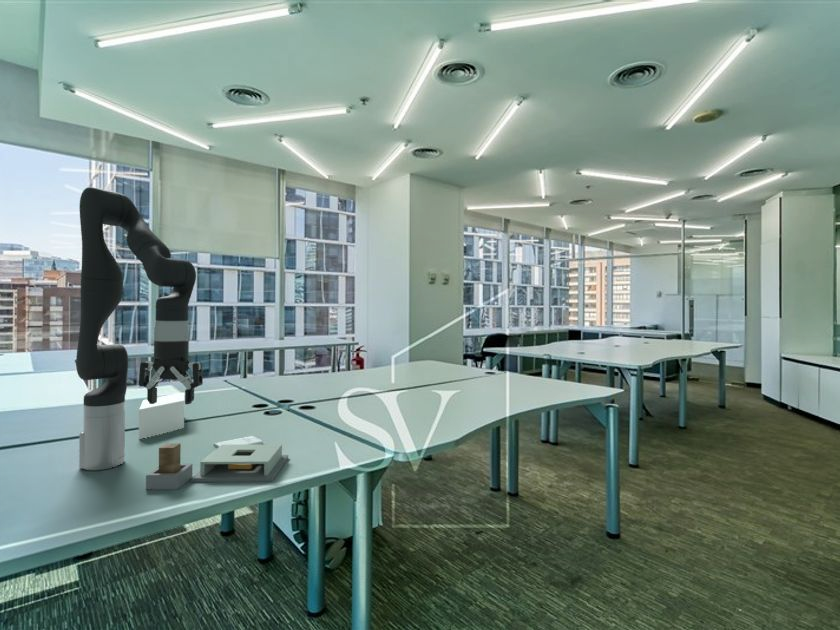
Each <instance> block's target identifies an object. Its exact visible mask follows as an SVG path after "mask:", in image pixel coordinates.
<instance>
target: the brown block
mask: <svg viewBox="0 0 840 630" xmlns="http://www.w3.org/2000/svg"><path fill="white" fill-rule="evenodd" d="M181 444H182V443H179V442H178V443H171V442H169V443H165V444H163V445H161V446H160V447H158V467H159V473H177V472H178V471H180V464H181V451H182V450H181Z"/></svg>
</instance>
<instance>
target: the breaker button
mask: <svg viewBox="0 0 840 630" xmlns="http://www.w3.org/2000/svg"><path fill="white" fill-rule="evenodd" d="M254 465H255V464H228V469H252V468H253V466H254Z"/></svg>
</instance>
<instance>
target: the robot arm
mask: <svg viewBox="0 0 840 630" xmlns="http://www.w3.org/2000/svg"><path fill="white" fill-rule="evenodd" d="M79 220H80V221H79V223H80V235H81V269H80V272H81V273H80V319H79V320H80V321H79V330H78V331H79V332H78V339H77V340H78V341H77V348H76V359H75V361H76V364H75V366H76V373H77V375H78V377H79V379H81V380H83V381H91V380H92V381H94V380H101V379H106V380H105V382H104V383H102V384H101V385H100V386H99V387H96V388H95V389H93V390H90V391H88V392H87V393H85V394H84V395H83V431H82V432H80V433H79V436H78V437H79V444H78V445H79V450H78V452H79V453H78V454H79V455H78V457H79V459H78V462H79V463H78V464H79V465H78V467H79V469H83V470H86V471H103V470H107V469H112V467H113V468H116V467H118V465H119V466H121V465H122V464H124V463H125V455H126V454H125V446H126V445H125V442H126V441H125V440H126V439H125V437H126V436H125V435H126V434H125V433H126V431H125V430H126V428H125V427H126V426H125V425H126V424H125V423H126V394H127V388H128V387H127V385H128V384H127V383H128V371H129V356H128V351H127V349H126V347H125V346H124V345H123V344H117V343H116V344H100V345H99V344H98V342H99V337H100V334H101V330H102V329H103V326H104V324H105V323H106V321H107V320H108V319H109V317H110V316H111V315H112V314H113V313H114V311H115V310H116V309H117V307H119V304H120V303H121V301H122V299H123V292H124V291H123V290H124V289H123V287H124V285H123V284H124V281H123V280H124V275H123V272H122V269H121V267H120V265H119V264H118V262H117V261H116V259H115V256H113V254H112V253H111V251H110V249H109V248H108V246H107V243H106V240H105V236H104V235H105V234H104V227H103V225H106V226H112V227H120V228H122V229H123V230H125V231H126V232H127V235H126V244H127V246H128V248H129V250H130V251H131V252H132V254H133V255H134V256H135V257H136V258H137V259H138V260H139V261H140V262H141V264H142V267H143V269H144V271H145V274H146V277H147V279H148V280H149V281H150V282H151V283H152V284H154V285H156V286H159V287H164V288H165V287H170V288H172V290H171V292H170V294H169V295H166V296H161V297H159V298H157V299H156V301H155V323H154V332H153V358H154V360H153V362H151V361H148V360H146V361H142V362H140V364H139V376H138V386H139V387H143V388H146V390H147V394H146V395H147V396H146V399H147V400H148V402H149V403H150V404H154V403H156V402H157V397H158V387H157V386H158V385H159V383H161V381H167V380H171V381H177V380H178V381H179V382H180V384H182V385H183V386H184V387H185V389H184V390H185V391H184V405H190V404H192V403H193V401H194V400H195V388H197V387H200V386H202V385H203V384H204V381H203V365H202V362H201V361H197V362H190V361H189V357H190V356H189V355H190V354H189V352H190V349H189V348H190V329H189V303H190V300H191V298H192V293H193V290H194V286H195V284H196V281H197V272H196V268H195V266H194V264H193V263H191V262H190V261H189V260H185V259H179V258H172V254H171V251H170V248H169V247H168V246H167V245H166V244H165V243H164V242H163V241H162V240H161V239H160V238H159V237H158V236H157V235H156V234H155V233H154V232H153V231H152V230H151V228H150V227H149V226H148V225H147V223H146V221H145V220H144V218H143V216H142V214H141V213H140V212H139V210H138V208H137V206H136V205H135V203H134V202H133V201H132V200H131V199H130V197H129V196H127V195H125V194H124V193H120V192H116V191H112V190H110V189H109V190H108V189H105V188H100V187H99V188H98V187H95V186H88V187H86V188H84V189H83V190H82V192H81V195H80V198H79ZM189 369H190V371H191V372H192V377H191V375H190V374H189V373H188V370H189ZM152 370H153V371H155V373H154V374H153V376H152V377H150V375H151V371H152ZM192 379H193V380H192ZM123 462H124V463H123ZM120 464H121V465H120Z"/></svg>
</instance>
